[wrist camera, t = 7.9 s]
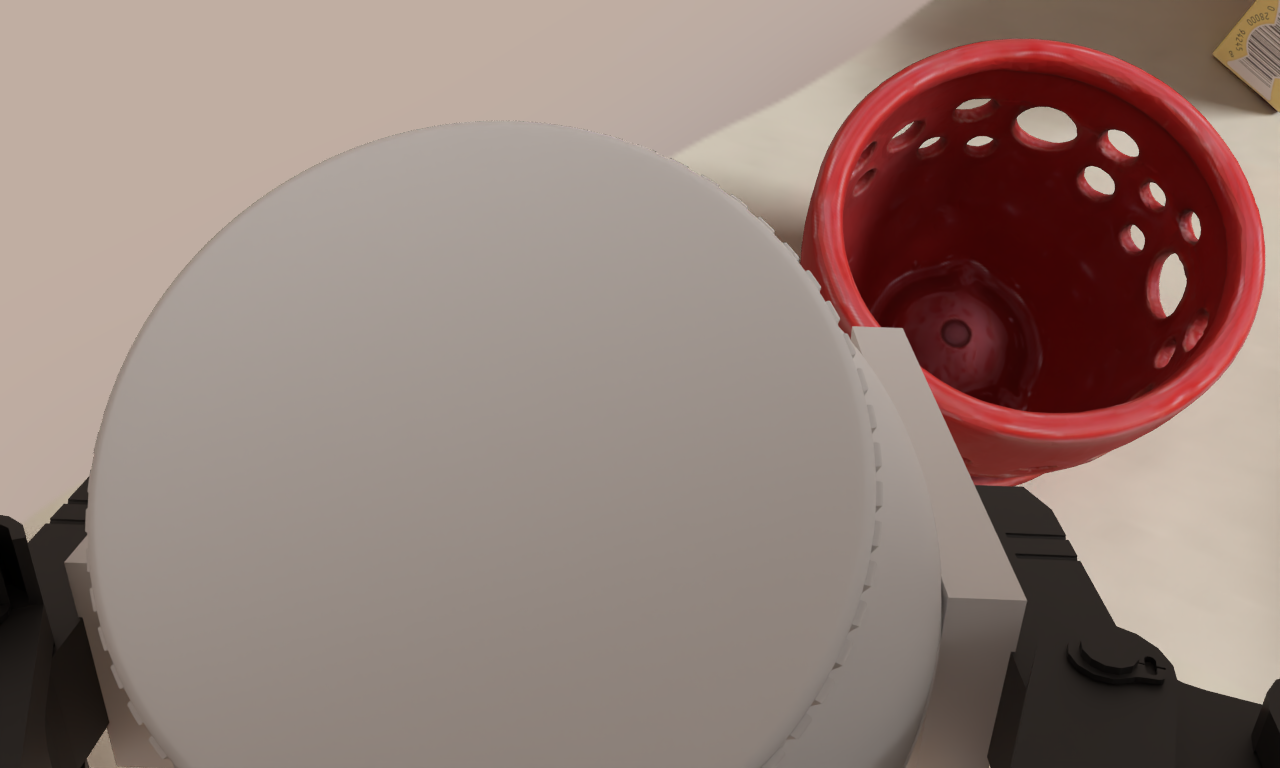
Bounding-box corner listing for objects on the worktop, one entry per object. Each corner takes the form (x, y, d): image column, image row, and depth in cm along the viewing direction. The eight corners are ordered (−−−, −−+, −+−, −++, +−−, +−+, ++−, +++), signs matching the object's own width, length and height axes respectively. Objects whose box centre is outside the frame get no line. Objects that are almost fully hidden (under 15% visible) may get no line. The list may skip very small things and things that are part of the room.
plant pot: (899, 152, 46) (988, -46, 34) (1167, 345, 43) (1360, 201, 32) (699, 374, 42) (724, 238, 31) (974, 598, 40) (1112, 539, 28)
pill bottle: (311, 611, 21) (-333, 346, 7) (637, 379, 23) (630, -216, 9) (544, 970, 19) (281, 1578, 5) (884, 691, 21) (1394, 575, 7)
